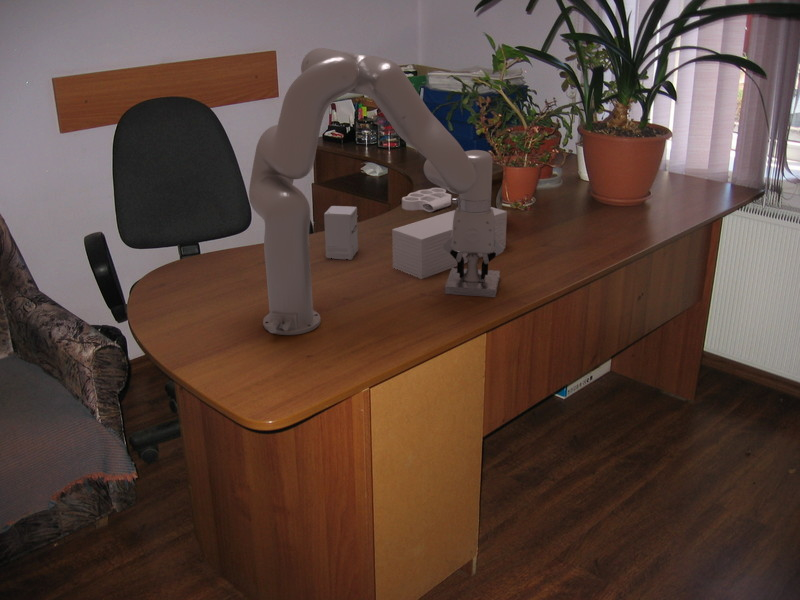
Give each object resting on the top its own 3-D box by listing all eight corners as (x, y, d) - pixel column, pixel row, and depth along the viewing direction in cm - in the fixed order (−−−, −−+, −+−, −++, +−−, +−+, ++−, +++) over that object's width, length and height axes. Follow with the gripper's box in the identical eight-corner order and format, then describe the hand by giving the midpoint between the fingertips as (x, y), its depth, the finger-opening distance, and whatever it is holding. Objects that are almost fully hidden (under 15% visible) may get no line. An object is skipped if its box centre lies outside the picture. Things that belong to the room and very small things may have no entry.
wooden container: (510, 232, 237) (513, 157, 228) (463, 239, 232) (465, 162, 223) (486, 217, 249) (489, 145, 241) (442, 223, 245) (442, 150, 236)
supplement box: (352, 260, 217) (350, 214, 212) (325, 258, 219) (322, 213, 214) (359, 250, 224) (357, 206, 219) (332, 249, 225) (330, 204, 220)
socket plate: (495, 297, 194) (495, 289, 193) (444, 294, 196) (445, 286, 195) (499, 278, 205) (499, 270, 204) (451, 275, 207) (451, 267, 206)
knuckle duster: (426, 216, 252) (392, 207, 261) (463, 203, 264) (429, 194, 273) (426, 206, 251) (391, 196, 260) (463, 193, 263) (429, 185, 272)
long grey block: (421, 280, 205) (421, 239, 201) (392, 268, 212) (392, 229, 208) (505, 249, 225) (507, 211, 220) (476, 239, 232) (477, 202, 228)
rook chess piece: (469, 279, 203) (470, 248, 200) (484, 283, 200) (485, 252, 197) (459, 284, 200) (459, 253, 197) (474, 289, 197) (475, 257, 194)
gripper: (436, 207, 190) (435, 280, 198) (509, 210, 187) (506, 284, 195) (441, 197, 197) (440, 268, 204) (512, 201, 194) (508, 273, 201)
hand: (472, 275), depth 199 cm, fingers open, 4 cm apart
